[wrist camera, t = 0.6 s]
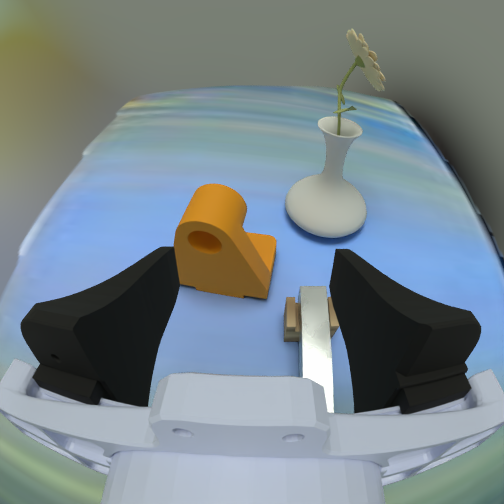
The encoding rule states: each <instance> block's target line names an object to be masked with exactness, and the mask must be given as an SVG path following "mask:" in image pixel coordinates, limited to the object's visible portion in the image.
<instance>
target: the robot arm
mask: <svg viewBox="0 0 504 504" xmlns="http://www.w3.org/2000/svg"><path fill="white" fill-rule="evenodd" d="M179 287H180V281H179V275H178V269H177V262H176V256H175V249H174V247H160V248H158V249H156V250H155V251H153V252H151V253H150V254H148V255H147V256H145V257H144V258H142V259H141V260H139V261H138V262H136V263H135V264H133V265H132V266H130V267H128V268H127V269H125V270H124V271H122V272H120V273H119V274H117V275H115V276H114V277H112V278H110V279H108V280H106V281H104V282H102V283H100V284H98V285H96V286H93V287H91V288H88V289H86V290H84V291H81V292H78V293H76V294H73V295H70V296H66V297H63V298H59V299H55V300H51V301H46V302H41V303H36V304H35V305H34V306H33V307H32V309H31V310H30V311H29V312H28V314H27V315H26V316H25V317H24V319H23V320H22V322H21V332H22V335H23V337H24V339H25V341H26V343H27V345H28V346H29V348H30V349H31V351H32V352H33V354H34V355H35V357H36V358H37V360H38V361H39V363H40V365H39V367H38V368H37V369H36V368H35V367H34V366H32V365H30V364H28V363H26V362H23V361H21V360H18V359H14V360H13V362H12V364H11V365H10V367H9V368H8V370H7V372H6V373H5V375H4V377H3V378H2V380H1V382H0V412H1V413H2V414H3V415H4V416H5V417H6V418H7V419H8V420H9V421H10V422H11V423H12V424H13V425H14V426H15V427H17V428H18V429H19V430H20V431H21V432H22V433H23V434H25V435H27V436H28V437H30V438H32V439H33V440H35V441H37V442H39V443H41V444H42V445H44V446H46V447H48V448H50V449H52V450H53V451H55V452H57V453H59V454H61V455H63V456H65V457H67V458H69V459H71V460H73V461H75V462H77V463H79V464H82V465H84V466H86V467H88V468H90V469H93V470H95V471H97V472H100V473H102V474H105V475H107V479H106V483H105V487H104V491H103V495H102V499H101V503H100V504H385V498H384V491H383V486H386V485H389V484H392V483H395V482H398V481H401V480H404V479H406V478H409V477H412V476H414V475H417V474H419V473H422V472H424V471H427V470H429V469H432V468H434V467H436V466H438V465H441V464H443V463H445V462H447V461H449V460H451V459H454V458H456V457H458V456H460V455H462V454H464V453H466V452H468V451H470V450H472V449H474V448H476V447H478V446H479V445H480V444H482V443H483V442H484V441H485V440H486V439H488V438H489V437H490V436H491V435H492V434H494V433H495V432H496V431H497V430H498V429H499V428H501V427H502V426H503V425H504V392H503V390H502V388H501V386H500V384H499V382H498V381H497V379H496V377H495V375H494V373H493V371H492V370H491V369H489V370H486V371H483V372H480V373H478V374H475V375H473V376H471V377H470V378H469V379H467V377H466V375H465V373H466V372H467V371H468V368H467V366H466V364H465V361H466V360H467V358H468V357H469V355H470V354H471V352H472V351H473V349H474V348H475V346H476V344H477V342H478V340H479V338H480V334H481V326H480V324H479V322H478V321H477V319H476V318H475V316H474V315H473V314H472V312H471V311H467V310H463V309H459V308H455V307H451V306H448V305H445V304H442V303H439V302H436V301H434V300H431V299H429V298H426V297H424V296H422V295H420V294H417V293H415V292H413V291H411V290H409V289H408V288H406V287H404V286H402V285H400V284H399V283H397V282H395V281H394V280H392V279H391V278H389V277H388V276H386V275H384V274H383V273H382V272H380V271H379V270H377V269H376V268H375V267H373V266H372V265H370V264H369V263H368V262H366V261H365V260H364V259H362V258H361V257H360V256H358V255H357V254H356V253H354V252H353V251H351V250H349V249H336V250H335V257H334V263H333V269H332V274H331V280H330V285H329V288H330V294H331V299H332V304H333V308H334V311H335V314H336V317H337V320H338V323H339V326H340V329H341V332H342V335H343V338H344V341H345V345H346V349H347V353H348V359H349V365H350V372H351V379H352V387H353V398H354V414H344V413H330V412H328V409H327V403H326V397H325V391H324V387H323V386H321V385H320V384H318V383H316V382H315V381H313V380H311V379H309V378H303V377H295V376H244V375H221V374H206V373H194V372H189V373H173V374H170V375H168V376H167V377H165V378H163V379H162V380H160V381H159V383H158V387H157V390H156V394H155V397H154V400H153V404H152V407H148V401H149V394H150V387H151V380H152V375H153V370H154V365H155V361H156V356H157V352H158V348H159V345H160V341H161V338H162V336H163V333H164V331H165V328H166V326H167V323H168V321H169V318H170V316H171V313H172V311H173V308H174V305H175V303H176V299H177V295H178V291H179Z"/></svg>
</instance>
